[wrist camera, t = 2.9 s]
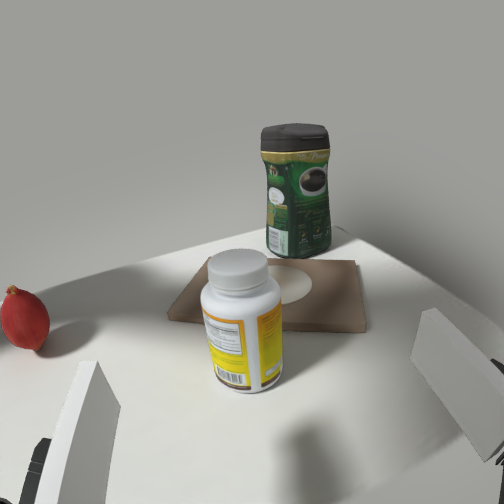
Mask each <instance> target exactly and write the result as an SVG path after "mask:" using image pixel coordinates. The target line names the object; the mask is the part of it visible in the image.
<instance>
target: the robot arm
mask: <svg viewBox="0 0 504 504" xmlns="http://www.w3.org/2000/svg"><path fill="white" fill-rule="evenodd" d="M410 361H411V362H412V363H413V365H414V366H415V367H416V369H417V370H418V371H419V372H420V374H421V375H422V376H423V378H424V379H425V380H426V382H427V383H428V384H429V386H430V387H431V388H432V390H433V391H434V392H435V394H436V395H437V396H438V398H439V399H440V400H441V402H442V403H443V404H444V406H445V407H446V409H447V410H448V411H449V413H450V414H451V415H452V417H453V418H454V420H455V421H456V422H457V424H458V425H459V427H460V428H461V430H462V431H463V432H464V434H465V435H466V437H467V438H468V440H469V441H470V442H471V444H472V445H473V447H474V448H475V450H476V451H477V452H478V454H479V456H480V457H481V458H482V460H483V461H484V462H486V461H488V460H489V459H490V458H492V457H493V456H494V455H496V454H497V453H498V452H499V451H500V450H501V448H502V447H503V446H504V365H503V364H502V363H500V362H498V361H496V360H495V359H491V360H489V359H488V358H487V357H486V356H485V355H484V354H483V353H482V352H481V351H480V350H479V349H478V348H477V347H476V346H475V345H474V344H473V343H472V342H471V341H470V340H469V339H468V338H467V337H466V336H465V335H464V334H463V333H462V332H461V331H460V330H459V329H458V328H457V327H456V326H455V325H454V324H453V323H452V322H451V321H449V320H448V319H447V318H446V317H445V316H444V315H443V314H442V313H441V312H440V311H439V310H438V309H437V308H436V307H435V308H431V309H428V310H424V311H422V314H421V319H420V323H419V327H418V330H417V334H416V338H415V342H414V345H413V349H412V352H411V356H410ZM120 408H121V406H120V404H119V403H118V401H117V399H116V397H115V395H114V393H113V391H112V389H111V387H110V385H109V383H108V381H107V379H106V377H105V375H104V373H103V371H102V369H101V367H100V365H99V363H98V361H80V364H79V366H78V369H77V371H76V374H75V376H74V379H73V381H72V384H71V386H70V389H69V392H68V394H67V397H66V400H65V402H64V405H63V408H62V411H61V414H60V416H59V419H58V422H57V425H56V428H55V431H54V434H53V437H52V439H48V438H42V440H41V441H40V442H39V443H38V445H37V446H36V447H35V449H34V452H33V455H32V458H31V462H30V465H29V468H28V470H29V472H27V475H26V478H25V482H24V486H23V489H22V493H21V497H20V501H19V504H105V499H106V491H107V484H108V477H109V470H110V463H111V457H112V451H113V445H114V439H115V434H116V428H117V423H118V418H119V413H120ZM503 458H504V452H503V453H502V454H501V455H500V457H499V458H498V459H497V460H496V465H498V464H499V463H500V462H501V460H503ZM501 465H503V475H502V484H501V491H500V498H499V504H504V460H503V461H502V463H501ZM0 504H12V503H10V502H9V501H8V500H7V499H4V498H0Z"/></svg>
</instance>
